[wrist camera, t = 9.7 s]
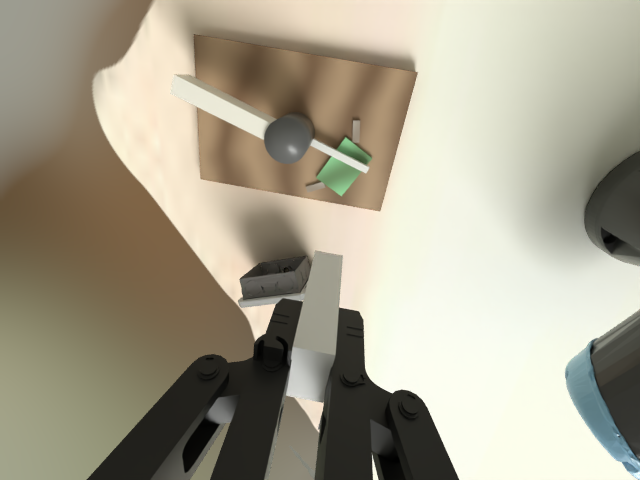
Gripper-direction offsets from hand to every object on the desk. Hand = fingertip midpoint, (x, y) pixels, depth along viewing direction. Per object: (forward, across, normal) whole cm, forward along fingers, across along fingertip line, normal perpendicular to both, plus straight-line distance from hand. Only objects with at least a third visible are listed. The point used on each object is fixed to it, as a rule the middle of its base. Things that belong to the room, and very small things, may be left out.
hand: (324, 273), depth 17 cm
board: (+24, +6, -3) cm, 25 cm away
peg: (+23, +7, -3) cm, 24 cm away
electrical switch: (+25, +6, +17) cm, 31 cm away
